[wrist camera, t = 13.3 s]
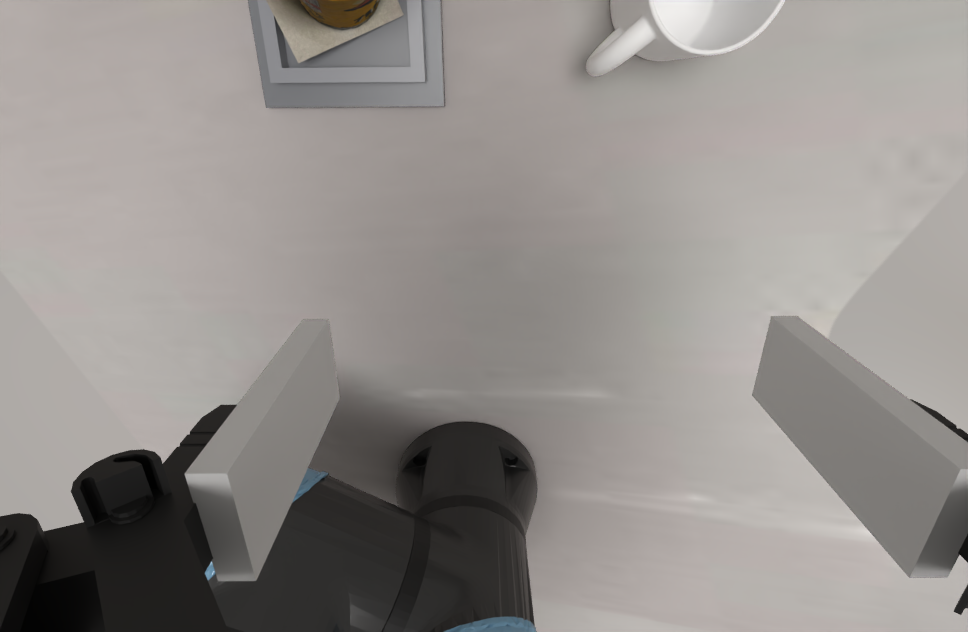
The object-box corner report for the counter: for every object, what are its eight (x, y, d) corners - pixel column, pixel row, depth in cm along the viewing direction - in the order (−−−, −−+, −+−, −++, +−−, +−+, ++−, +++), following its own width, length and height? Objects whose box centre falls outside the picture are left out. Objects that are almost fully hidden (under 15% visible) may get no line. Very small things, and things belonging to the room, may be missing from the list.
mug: (603, 117, 41) (639, 126, 32) (544, 25, 39) (563, 6, 29) (739, 10, 38) (822, -14, 29) (685, -98, 36) (756, -162, 26)
